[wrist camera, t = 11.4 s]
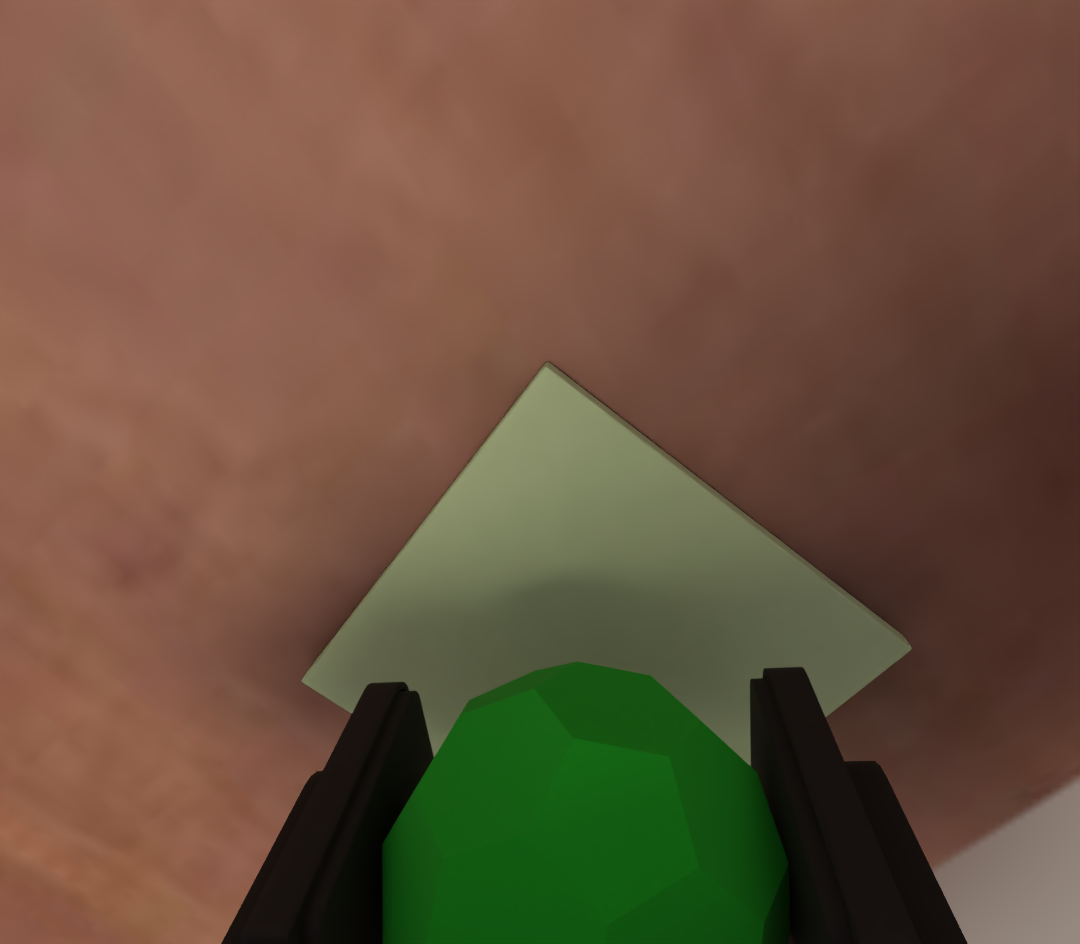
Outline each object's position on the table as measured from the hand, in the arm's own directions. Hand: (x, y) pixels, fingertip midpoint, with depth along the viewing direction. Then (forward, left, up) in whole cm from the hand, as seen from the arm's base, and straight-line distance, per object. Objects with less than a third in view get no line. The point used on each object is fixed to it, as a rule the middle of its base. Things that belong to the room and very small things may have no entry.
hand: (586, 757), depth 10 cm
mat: (0, 0, -3) cm, 3 cm away
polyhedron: (0, 0, -1) cm, 1 cm away
